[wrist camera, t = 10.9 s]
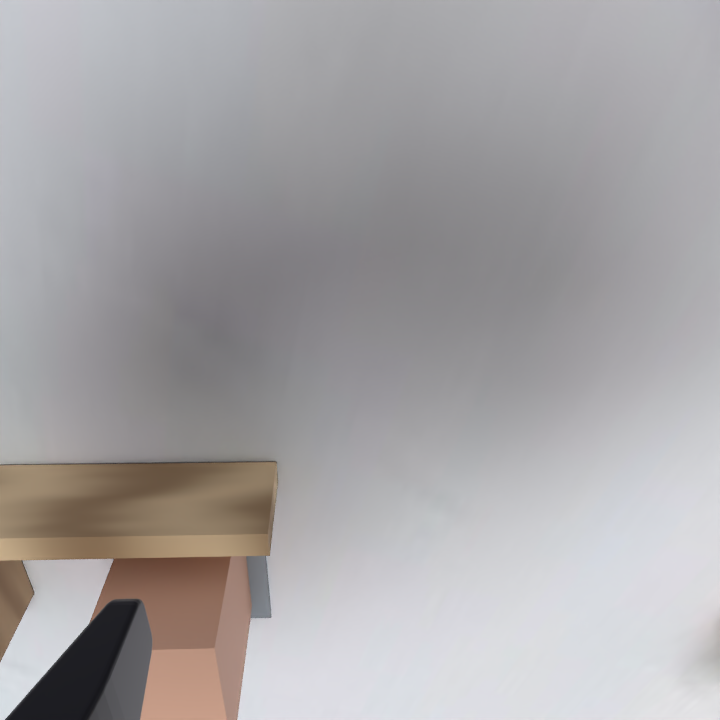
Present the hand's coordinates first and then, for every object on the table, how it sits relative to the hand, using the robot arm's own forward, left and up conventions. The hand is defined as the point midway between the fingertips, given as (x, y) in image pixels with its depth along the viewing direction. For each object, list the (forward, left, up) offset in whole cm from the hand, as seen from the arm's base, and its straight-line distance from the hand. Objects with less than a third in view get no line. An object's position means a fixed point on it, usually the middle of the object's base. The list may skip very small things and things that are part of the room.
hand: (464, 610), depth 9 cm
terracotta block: (+7, +12, -12) cm, 19 cm away
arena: (+10, +12, -12) cm, 20 cm away
